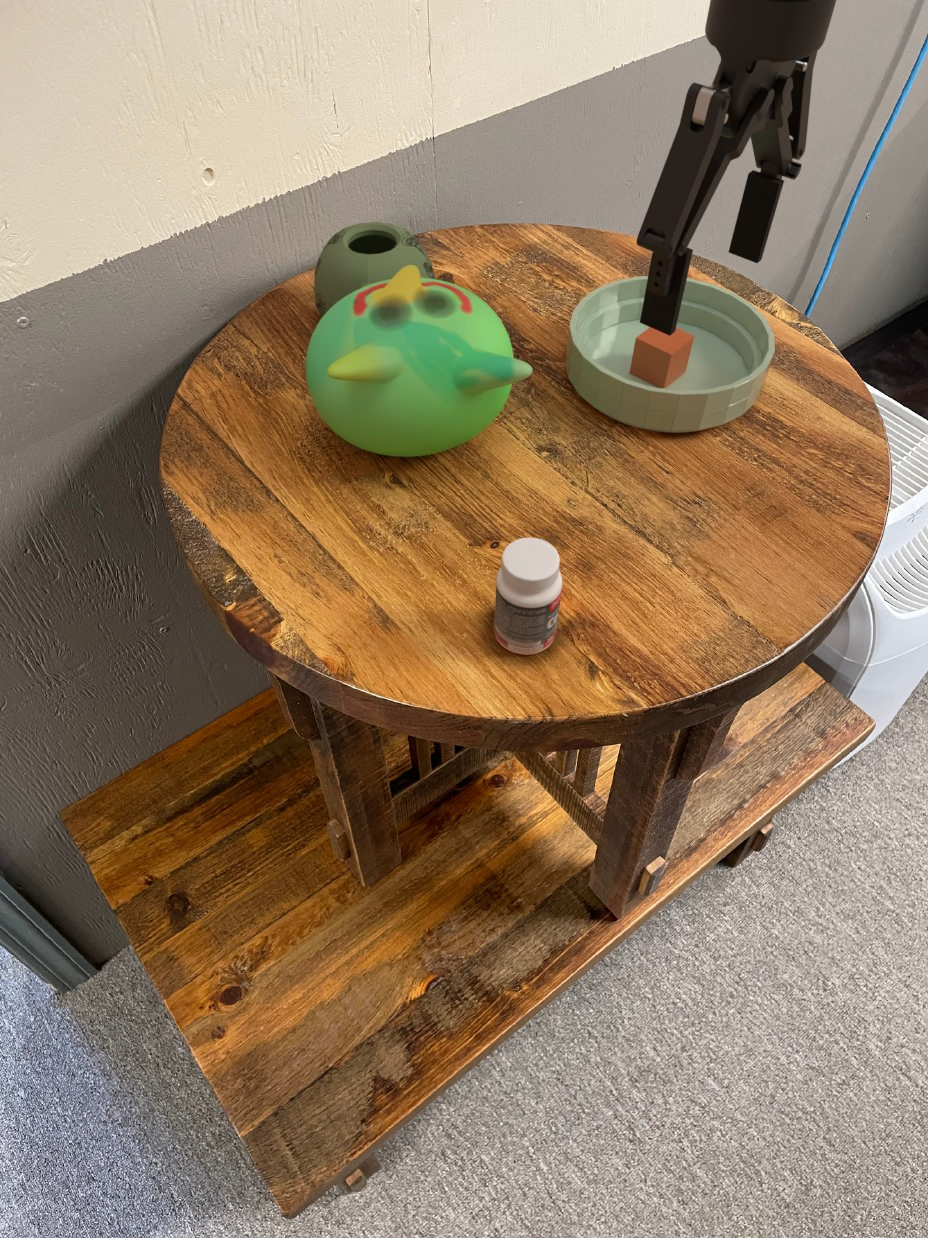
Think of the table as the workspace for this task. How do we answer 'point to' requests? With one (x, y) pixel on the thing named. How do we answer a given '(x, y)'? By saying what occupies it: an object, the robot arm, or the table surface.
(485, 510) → the table surface
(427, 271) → the mug
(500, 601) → the pill bottle
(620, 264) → the table surface
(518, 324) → the table surface
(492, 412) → the toy bird
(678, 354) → the block
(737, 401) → the bowl
